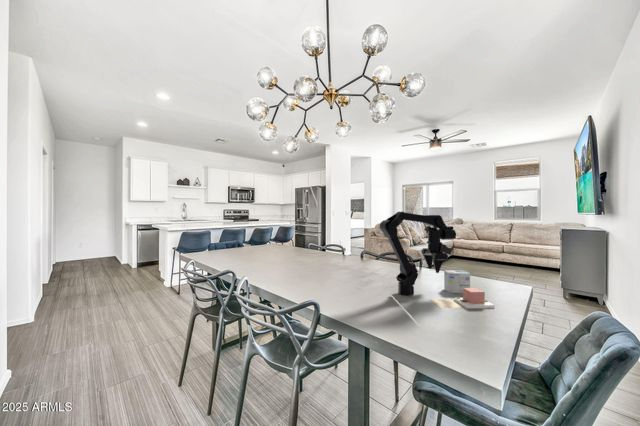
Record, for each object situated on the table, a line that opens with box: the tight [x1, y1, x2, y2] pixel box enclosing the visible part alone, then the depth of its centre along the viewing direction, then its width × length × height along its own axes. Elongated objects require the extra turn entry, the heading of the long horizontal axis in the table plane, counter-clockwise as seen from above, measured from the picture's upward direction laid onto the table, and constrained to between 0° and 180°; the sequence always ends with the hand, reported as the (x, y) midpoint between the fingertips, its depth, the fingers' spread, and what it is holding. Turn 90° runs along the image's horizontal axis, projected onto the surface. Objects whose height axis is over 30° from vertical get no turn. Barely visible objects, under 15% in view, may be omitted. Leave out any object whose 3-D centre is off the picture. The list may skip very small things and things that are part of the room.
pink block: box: [462, 287, 486, 304], centre depth 118 cm, size 6×6×5 cm
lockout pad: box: [429, 299, 464, 309], centre depth 118 cm, size 10×10×1 cm
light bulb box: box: [443, 269, 471, 294], centre depth 137 cm, size 11×7×11 cm, turn 84°
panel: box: [453, 296, 496, 309], centre depth 118 cm, size 12×10×2 cm
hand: (433, 270), depth 135 cm, fingers open, 9 cm apart
